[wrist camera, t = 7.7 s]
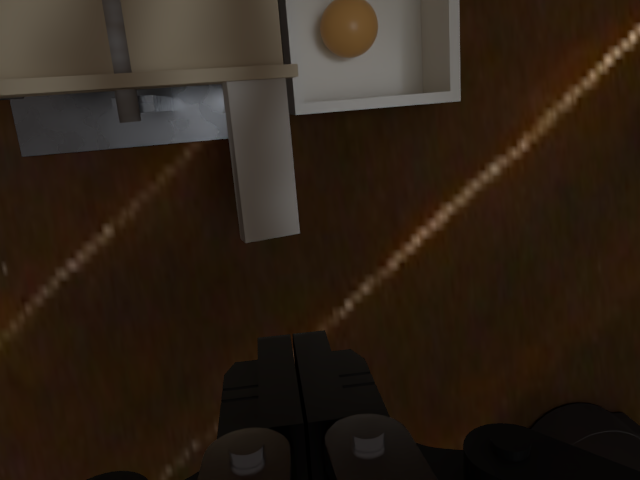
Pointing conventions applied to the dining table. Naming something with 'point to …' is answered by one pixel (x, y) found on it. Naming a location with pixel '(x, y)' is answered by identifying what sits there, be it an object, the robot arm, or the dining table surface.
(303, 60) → the open grey tray box
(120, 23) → the chute
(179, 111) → the stand
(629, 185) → the dining table surface
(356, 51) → the ball
